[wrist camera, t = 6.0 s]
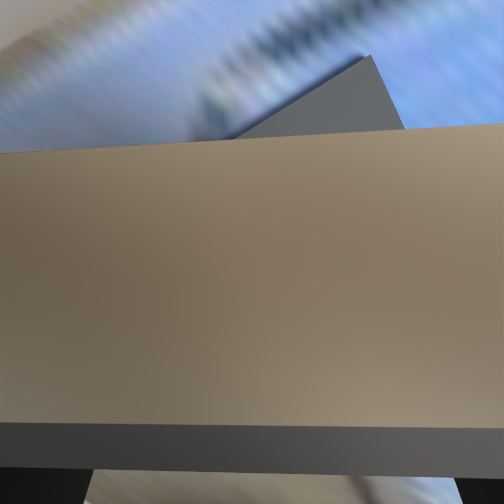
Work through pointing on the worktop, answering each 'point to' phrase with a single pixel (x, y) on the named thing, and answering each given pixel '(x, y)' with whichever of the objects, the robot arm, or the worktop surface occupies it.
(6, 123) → the worktop surface
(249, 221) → the tan wooden block
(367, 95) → the mat
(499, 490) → the robot arm
